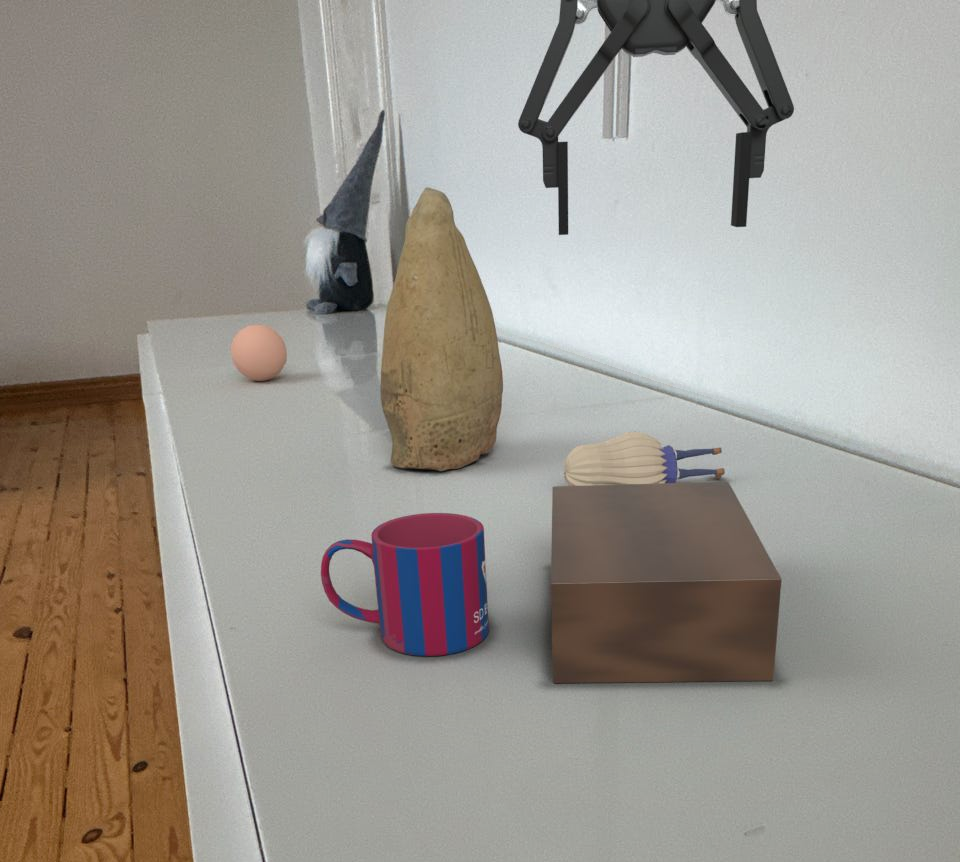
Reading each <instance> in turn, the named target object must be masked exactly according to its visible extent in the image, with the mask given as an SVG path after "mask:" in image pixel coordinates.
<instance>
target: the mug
mask: <svg viewBox="0 0 960 862" xmlns="http://www.w3.org/2000/svg"><path fill="white" fill-rule="evenodd" d="M485 542H486V541H485V528H484V525H483V523H482V522H481V521H479V520H477V519H476V518H474V517H472V516H468V515H465V514H464V515H463V514H459V513H451V512H450V513H449V512H427V513H426V512H425V513H416V514H415V513H414V514H410V515H403V516H399V517H395V518H393V519H390V520H387V521H385V522H382V523H381V524H379V525H378V526H376V527H375V528H374V529H373V530H372V532H371V542H368V541H364V540H359V539H342V540H341V539H340V540H338V541H335V542H333V543H332V544H330V545H329V547H328V548H327V549H326V550H325V551H324V554H323V556H322V558H321V563H320V579H321V585H322V589H323V591H324V594H325V595H326V597H327V599H328V601H329V602H330V603H331V604H332V605H333V606H334V607H335V608H336V609H337V610H338V611H340V612H341V613H342V614H345V615H347V616H349V617H351V618H353V619H356V620H359V621H363V622H366V623H372V624H378V625H379V629H380V635H381V639H382V642H383V643H384V644H385V645H386V646H387V647H388V648H390V649H391V650H393V651H396V652H398V653H401V654H404V655H409V656H416V657H438V656H439V657H440V656H447V655H452V654H456V653H462V652H464V651H466V650H469V649H472V648H473V647H476V646H477V645H479V644H480V643H482V642H483V641H484V640H485V639H486V638H487V636H488V634H489V631H490V623H489V608H488V607H489V605H488V602H489V601H488V582H487V565H486V545H485ZM341 550H342V551H343V550H353V551H355V552H359V553H361V554H362V555H364V556H365V557H367V558H369V559H370V560H371V562H372V565H373V571H374V572H373V573H374V581H375V591H376V600H377V602H376V603H377V609H367V608H362V607H358V606H355V605H354V604H352V603H349V602H348V601H346V600H345V599H343V598H342V597H341V595H339V593H338V592H337V591H336V589H335V587H334V585H333V582H332V579H331V575H330V566H331V565H330V564H331V560H332V558H333V556H334V555H335V554H336V553H337V552H339V551H341Z"/></svg>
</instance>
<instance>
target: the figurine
mask: <svg viewBox="0 0 960 862" xmlns="http://www.w3.org/2000/svg"><path fill="white" fill-rule="evenodd" d="M722 452H723V451H722V447H713V448H693V449H692V448H691V449H687V450H681V449H674V447H673V446H671V445H666V446H663V445H662V443H661V442H659V440H658V439H656V438H655V437H654V436H651V435H650V434H648V433H645V432H640V431H631V432H624V433H622V434H620V435H618V436H615V437H613V438H610V439H608V440H605V441H602V442H596V443H589V444H581V445H578V446H576V447H574V448H573V449H572V450H570V452H569V453H568V454H567V456H566V457H565V460H564V462H563V463H564V464H563V471H564V472H563V475H564V477H563V478H564V480H565V482H566V484H567V486H591V485H626V484H661V483H677V481H678V480H683V479H685V478H689V477H690V478H691V477H701V476H709V475H714V478H715V479H716V480H720V479H721V478H722V476H724V475H725V473H726V471H725V468H724V467H720V468H716V469H714V468H713V469H709V468H691V469H687V468H679V467H678V462H677V461H681V460H683V459H688V458H692V457H693V458H694V457H699V456H704V455H705V456H706V455H713V456H715V455H718V454H719V455H720V454H722Z"/></svg>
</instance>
